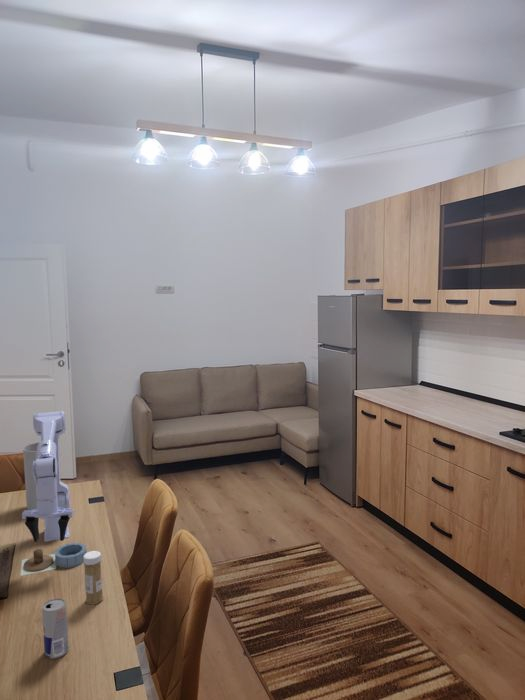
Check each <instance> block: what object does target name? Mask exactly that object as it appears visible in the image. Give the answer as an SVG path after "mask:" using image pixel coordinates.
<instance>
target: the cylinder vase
mask: <svg viewBox="0 0 525 700" xmlns="http://www.w3.org/2000/svg"><path fill="white" fill-rule="evenodd" d="M40 442H41V441H39V442H34V443H30V444H26V445H25V446H23V447H22V455H23V456H22V457H23V469H24V471H23V472H24V483H25V484H24V486H25V500H26V510H33V509H37V495H36V485H35V481H34V476H33V461H34V462H35V461H36V451H37V445H38V444H39V443H40ZM59 492H60V491H59Z"/></svg>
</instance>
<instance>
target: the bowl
mask: <svg viewBox="0 0 525 700" xmlns="http://www.w3.org/2000/svg"><path fill="white" fill-rule="evenodd" d="M86 553H88V551H87V545H86V544H84V543H81V542H71V543H66V544H63V545H61V546H59V547H57V549H56V550H55V551H54V554H55V559H56V567H57V566H58V568H65V569H66V568H67V569H68V568H73V567H77V566H80V565H82V564H84V559H83V557H84V555H85V554H86Z"/></svg>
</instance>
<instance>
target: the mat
mask: <svg viewBox="0 0 525 700" xmlns="http://www.w3.org/2000/svg"><path fill="white" fill-rule="evenodd" d="M48 555H49V556H51V557H53V564H52V565H51V566H50V567H48V568H46V569H44V570H41V571H35V572H31V571H27V570H25V569H24V563H25V562H26V561H27V560H28V559H30V558H31V557H29V558H25V559H21V564H20V565H21V567H20V568H21V569H20V577H22V576H28V575H32V574H33V575H34V574H37V573H43V572H48V571H52V570H56V569H57V565H56V559H55V553H51V554H48Z"/></svg>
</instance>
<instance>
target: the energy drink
mask: <svg viewBox="0 0 525 700" xmlns="http://www.w3.org/2000/svg"><path fill="white" fill-rule="evenodd" d="M67 613H68V612H67V604H66V601H65V599H63V598H53V599H49V600H47V601H46V602H44V603H43V606H42V609H41V617H42V632H43V647H44V656H45V657H46V658H48V659H50V660H52V659H53V660H54V659H58V658H59V659H60V658H62V657H63V656H65V654H67V652H68V651H69V649H70V646H69V632H68V631H69V628H68V614H67Z"/></svg>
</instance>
